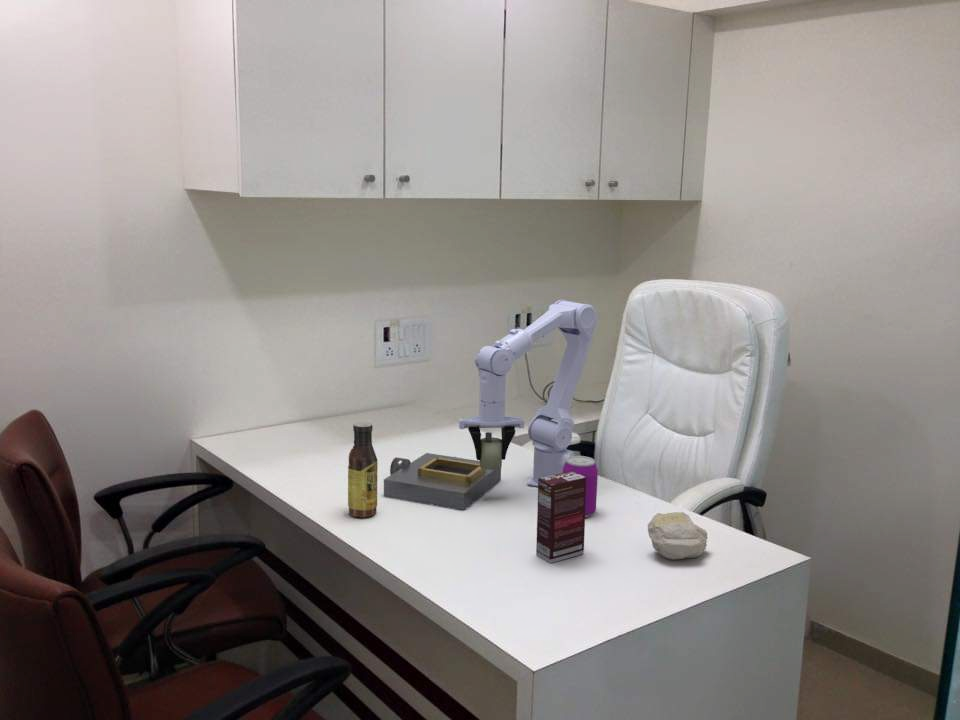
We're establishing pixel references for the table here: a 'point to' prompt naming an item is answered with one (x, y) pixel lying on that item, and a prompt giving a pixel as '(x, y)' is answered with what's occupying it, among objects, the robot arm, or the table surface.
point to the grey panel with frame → (439, 480)
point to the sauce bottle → (362, 473)
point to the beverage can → (590, 471)
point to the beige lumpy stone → (676, 536)
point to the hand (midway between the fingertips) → (490, 458)
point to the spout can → (490, 452)
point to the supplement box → (561, 516)
